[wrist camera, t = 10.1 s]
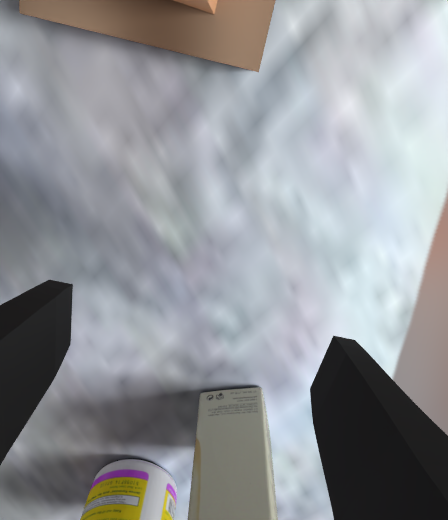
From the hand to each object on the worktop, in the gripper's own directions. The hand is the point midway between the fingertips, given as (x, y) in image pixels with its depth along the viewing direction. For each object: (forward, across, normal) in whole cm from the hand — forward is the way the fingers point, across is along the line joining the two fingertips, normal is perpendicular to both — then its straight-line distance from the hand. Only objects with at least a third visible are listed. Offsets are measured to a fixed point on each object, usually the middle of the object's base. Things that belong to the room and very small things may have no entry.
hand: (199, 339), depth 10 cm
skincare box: (+11, -4, +15) cm, 19 cm away
